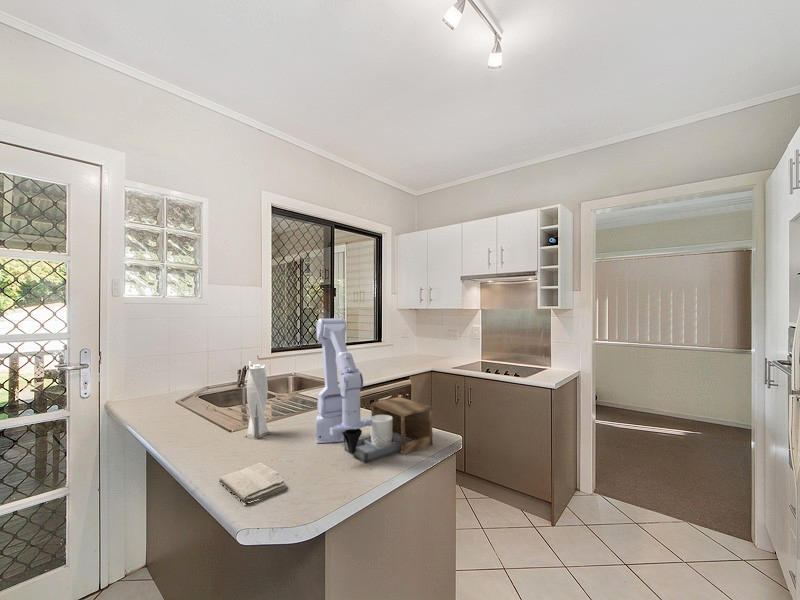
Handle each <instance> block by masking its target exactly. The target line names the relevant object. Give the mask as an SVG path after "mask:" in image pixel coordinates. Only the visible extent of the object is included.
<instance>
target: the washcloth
mask: <svg viewBox="0 0 800 600" xmlns="http://www.w3.org/2000/svg"><path fill="white" fill-rule="evenodd" d="M284 481H285V479H284V478H283V477H282V476H281V475H280V473H279V471H276V470H273V468H271V467H269V466H267V465H265V464H263V462H259V463H256V464H253V465H250V466H248V467H245V468H244V469H241V470H236V471H234V472H231V473H228V474H226V475H222V476H221V477H219V479H218V483H219V482H220V483H222V485H224V486H225V487H226V488H227V489H228V490H229V491H230V492H232V493H233V494H235V496H237V498H239V499H240V500H241V501H242V502H243V503H245V504H246V503H248V502H251V501H254V500H257V499H262V498H264V499H266V498H267V497H266V496H268V497H271V496H274V495H276V494H278V493H281V492H283V491H284V490H286V489H287V486H286V484H285V483H284ZM220 483H219V484H220ZM222 485H221V486H222ZM225 487H224V488H225ZM226 488H225V489H226ZM227 489H226V490H227ZM228 490H227V491H228ZM229 491H228V492H229ZM230 492H229V493H230ZM233 494H232V495H233ZM270 495H271V496H270ZM235 496H234V497H235ZM265 497H266V498H265ZM237 498H236V499H237ZM262 500H263V499H262ZM248 504H249V503H248ZM246 505H247V504H246Z"/></svg>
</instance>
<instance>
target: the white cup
mask: <svg viewBox="0 0 800 600" xmlns="http://www.w3.org/2000/svg"><path fill="white" fill-rule="evenodd" d="M369 419H372V426H369V431H370V435H371V442H372V444H374V445H376V446H378V447H380V448H383V447H386V446H389V445H393V441H392V431H393V417H392V416H390V415H375V416H372V415H371V417H369Z"/></svg>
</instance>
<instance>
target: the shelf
mask: <svg viewBox="0 0 800 600" xmlns="http://www.w3.org/2000/svg"><path fill="white" fill-rule="evenodd" d="M370 413H371V417H372V416H375V415H390V416H392V417H393V431H394V432H396V433H398V434H400V433H401V439H402V444H401V451H400V454H401V455H406V454H409V453H412V452H415V451H418V450H421V449H424V448H428V447H429V446H430V447H431V446H433V444H434V443H433V437H434V436H433V435H434V434H433V406H431V405H428V404H424V403H421V402H417V401H414V400H411V399H408V398H405V397H402V396H398V397H393V398H388V399H383V400H379V401H374V402H371V412H370ZM407 436H408V438H411V439H412V440H413V441H409V442H406V443H405V437H407Z"/></svg>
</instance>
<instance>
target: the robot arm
mask: <svg viewBox="0 0 800 600" xmlns="http://www.w3.org/2000/svg"><path fill="white" fill-rule="evenodd" d="M346 331H347V321H346V319H345V318H344V317H340V318H339V317H338V318H335V317H334V318H318V320H317V321H316V339H317V342H319V343H321V348H322V363H323V364H322V365H323V376H324V378H323V379H324V388H323V389H321V390H320V392H319V393H318V394H317V405H316V407H317V411H318V415H317V416H316V425H315V426H316V431H315V436H316V440H315V441H316V442H315V443H317V444H322V443H325V444H326V443H338V442H341V443H342V442H344V440H345V442H347V446H348V450H349V452H350V453H351V454H353V453H355V450H356V446H357V442H358V440H359V438H361V435H362V434H363V430H362V429H361V428H365V427H367V426H368V427H370V426H372V419H370V417H369V418H364V419H361V390H362V388H363V386H364V378H363V377H364V376H363V373H362V372H361V371H360V370H359V368H357V367H356V362H355V361H354V358H353V355H352V353H350V352H349V351H348V347H347V344H346V339H345V335H346ZM338 374H339V376H338ZM338 377H339V378H338ZM350 453H349V454H350ZM351 454H350V455H351Z"/></svg>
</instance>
